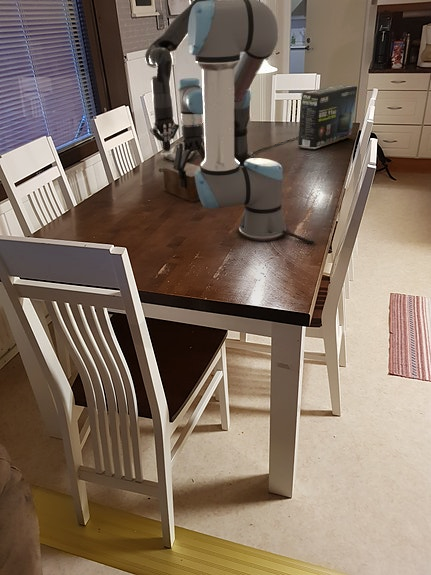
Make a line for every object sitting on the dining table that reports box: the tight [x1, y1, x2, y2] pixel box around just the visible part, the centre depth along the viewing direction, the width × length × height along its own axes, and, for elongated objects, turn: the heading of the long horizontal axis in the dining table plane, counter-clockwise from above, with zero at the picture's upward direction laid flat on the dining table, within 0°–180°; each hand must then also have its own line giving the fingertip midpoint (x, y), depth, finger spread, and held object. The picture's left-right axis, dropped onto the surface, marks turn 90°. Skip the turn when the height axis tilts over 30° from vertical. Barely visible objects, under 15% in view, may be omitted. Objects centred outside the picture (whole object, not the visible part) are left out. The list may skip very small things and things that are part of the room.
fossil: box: [160, 144, 199, 161], centre depth 229 cm, size 18×11×15 cm
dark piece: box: [158, 165, 169, 189], centre depth 185 cm, size 22×9×8 cm, turn 40°
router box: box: [297, 84, 358, 151], centre depth 238 cm, size 36×11×27 cm, turn 134°
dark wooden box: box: [163, 162, 200, 203], centre depth 182 cm, size 18×10×10 cm, turn 40°
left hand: (166, 150), depth 186 cm, fingers closed
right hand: (195, 183), depth 179 cm, fingers closed on dark wooden box, 10 cm apart
